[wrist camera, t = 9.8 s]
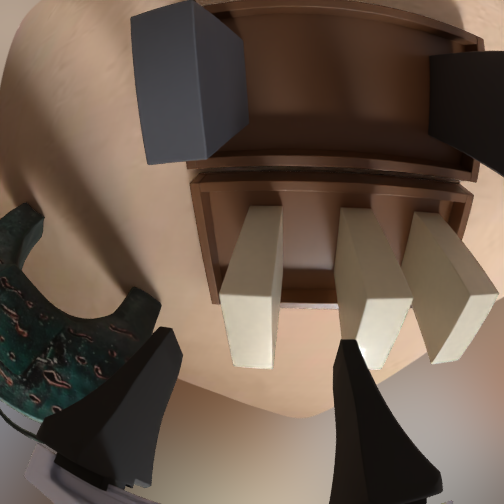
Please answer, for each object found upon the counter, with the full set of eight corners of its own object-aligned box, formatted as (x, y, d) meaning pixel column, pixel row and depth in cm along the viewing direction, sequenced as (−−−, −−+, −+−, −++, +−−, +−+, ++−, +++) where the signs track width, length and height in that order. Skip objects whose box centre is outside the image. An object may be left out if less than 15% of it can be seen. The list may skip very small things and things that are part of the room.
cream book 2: (371, 208, 16) (414, 297, 9) (360, 273, 18) (381, 369, 12) (340, 206, 16) (367, 298, 9) (333, 272, 19) (344, 371, 12)
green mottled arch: (15, 223, 22) (-96, 347, 5) (18, 176, 18) (-126, 309, 2) (154, 328, 26) (79, 507, 10) (178, 295, 23) (85, 525, 6)
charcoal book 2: (455, 63, 9) (549, 71, 3) (453, 140, 12) (539, 191, 6) (428, 55, 10) (520, 50, 3) (427, 134, 13) (512, 184, 6)
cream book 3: (438, 213, 15) (499, 293, 8) (421, 273, 18) (458, 360, 11) (413, 211, 15) (470, 295, 9) (398, 273, 18) (430, 364, 11)
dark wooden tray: (467, 40, 8) (483, 39, 7) (462, 172, 13) (476, 183, 12) (183, 19, 11) (170, 13, 9) (197, 160, 16) (187, 169, 15)
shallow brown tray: (460, 183, 14) (474, 195, 12) (428, 291, 19) (436, 307, 17) (199, 172, 17) (189, 183, 15) (218, 287, 22) (212, 304, 20)
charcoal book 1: (243, 40, 11) (192, -2, 5) (249, 124, 14) (207, 159, 8) (207, 44, 12) (129, 17, 5) (214, 126, 14) (146, 165, 8)
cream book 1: (282, 205, 17) (271, 296, 10) (283, 271, 19) (273, 369, 13) (249, 205, 17) (218, 293, 10) (254, 270, 20) (233, 366, 13)
